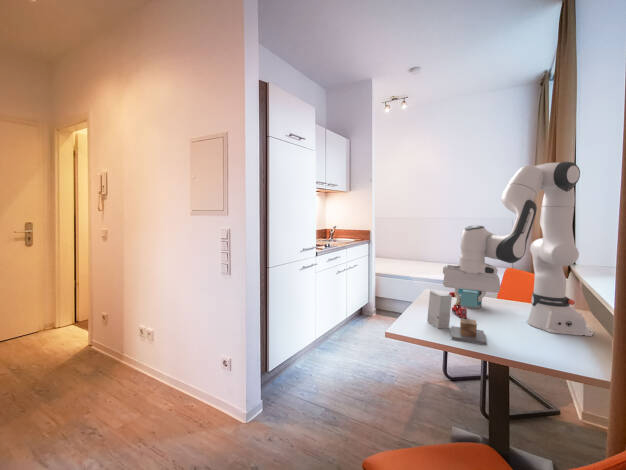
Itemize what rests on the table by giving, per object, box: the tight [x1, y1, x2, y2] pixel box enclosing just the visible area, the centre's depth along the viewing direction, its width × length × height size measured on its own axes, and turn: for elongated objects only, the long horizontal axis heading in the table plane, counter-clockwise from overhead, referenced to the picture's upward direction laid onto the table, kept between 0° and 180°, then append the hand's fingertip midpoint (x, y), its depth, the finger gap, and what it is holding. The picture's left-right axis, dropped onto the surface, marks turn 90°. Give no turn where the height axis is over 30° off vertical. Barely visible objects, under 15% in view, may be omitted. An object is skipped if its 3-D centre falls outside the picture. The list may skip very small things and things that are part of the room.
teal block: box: [461, 290, 478, 307], centre depth 123 cm, size 6×6×5 cm
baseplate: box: [450, 325, 487, 346], centre depth 124 cm, size 12×12×1 cm
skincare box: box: [426, 289, 453, 329], centre depth 136 cm, size 8×6×15 cm
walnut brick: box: [459, 318, 478, 337], centre depth 124 cm, size 6×6×5 cm
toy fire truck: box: [448, 291, 468, 319], centre depth 151 cm, size 3×14×10 cm, turn 179°
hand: (469, 300), depth 123 cm, fingers closed on teal block, 6 cm apart
